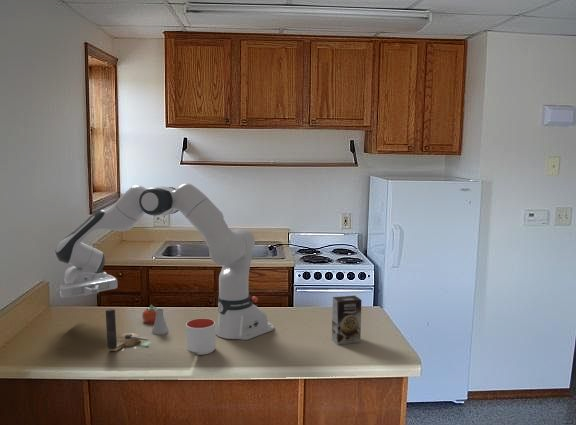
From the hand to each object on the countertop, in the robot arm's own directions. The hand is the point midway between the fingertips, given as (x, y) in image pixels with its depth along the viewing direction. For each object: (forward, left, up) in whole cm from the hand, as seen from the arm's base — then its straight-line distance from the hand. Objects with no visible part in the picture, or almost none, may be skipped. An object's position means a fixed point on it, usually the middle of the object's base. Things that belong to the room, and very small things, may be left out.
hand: (94, 291), depth 191 cm
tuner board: (-6, +10, -19) cm, 22 cm away
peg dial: (-6, +14, -17) cm, 23 cm away
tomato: (-23, -5, -19) cm, 30 cm away
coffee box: (-74, +53, -19) cm, 93 cm away
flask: (-21, +8, -19) cm, 29 cm away
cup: (-27, +30, -19) cm, 44 cm away
